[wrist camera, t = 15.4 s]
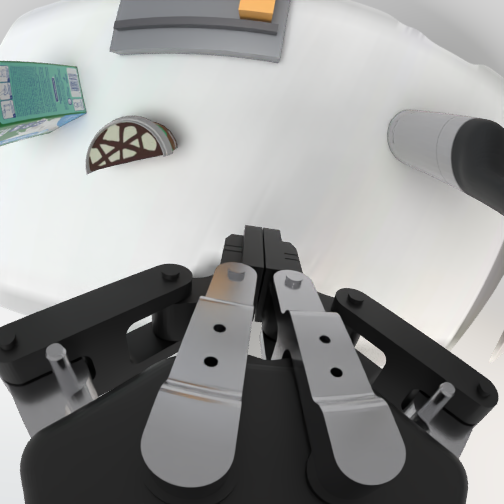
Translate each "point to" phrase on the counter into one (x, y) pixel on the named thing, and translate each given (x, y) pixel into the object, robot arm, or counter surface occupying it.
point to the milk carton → (37, 99)
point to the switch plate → (197, 29)
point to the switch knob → (256, 10)
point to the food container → (128, 142)
